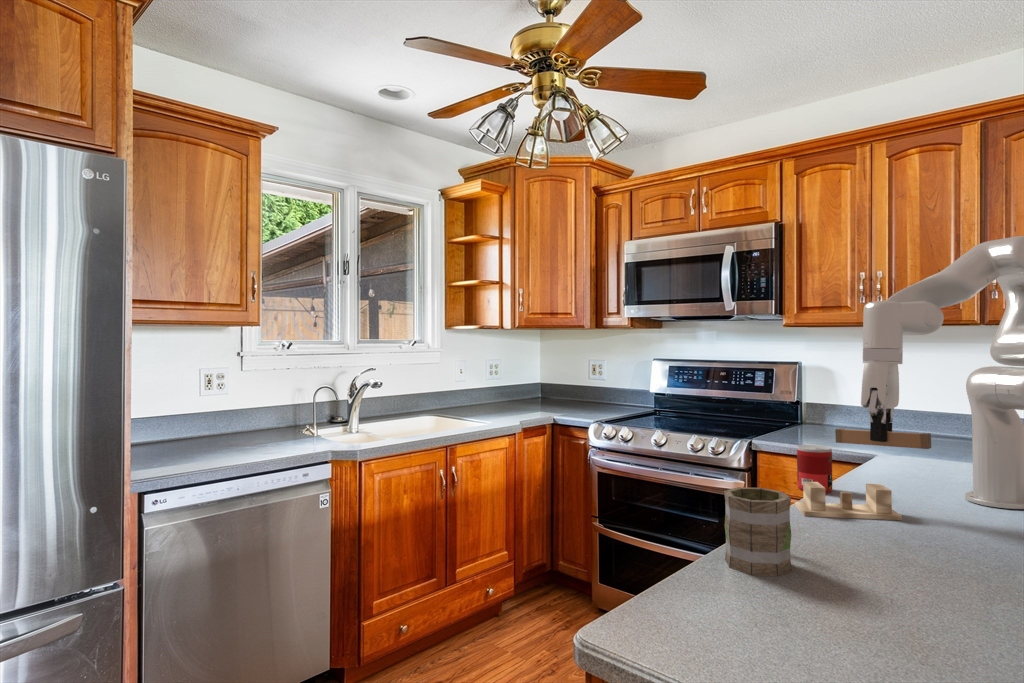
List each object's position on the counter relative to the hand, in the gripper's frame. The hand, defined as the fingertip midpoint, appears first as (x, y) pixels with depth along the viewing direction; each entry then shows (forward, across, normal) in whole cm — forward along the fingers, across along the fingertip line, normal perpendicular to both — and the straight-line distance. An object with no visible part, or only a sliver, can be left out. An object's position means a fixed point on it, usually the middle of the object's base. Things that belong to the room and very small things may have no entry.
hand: (881, 439), depth 133 cm
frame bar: (+1, 0, 0) cm, 1 cm away
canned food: (+16, -11, -18) cm, 27 cm away
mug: (+18, +46, -4) cm, 50 cm away
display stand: (+16, +5, -5) cm, 18 cm away
